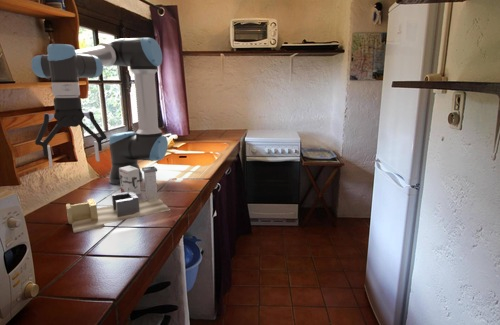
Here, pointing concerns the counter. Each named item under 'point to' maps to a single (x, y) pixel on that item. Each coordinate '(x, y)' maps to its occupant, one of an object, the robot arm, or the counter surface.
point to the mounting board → (111, 216)
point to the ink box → (129, 179)
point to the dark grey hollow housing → (125, 203)
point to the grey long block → (150, 183)
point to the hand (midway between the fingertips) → (75, 163)
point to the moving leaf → (82, 211)
